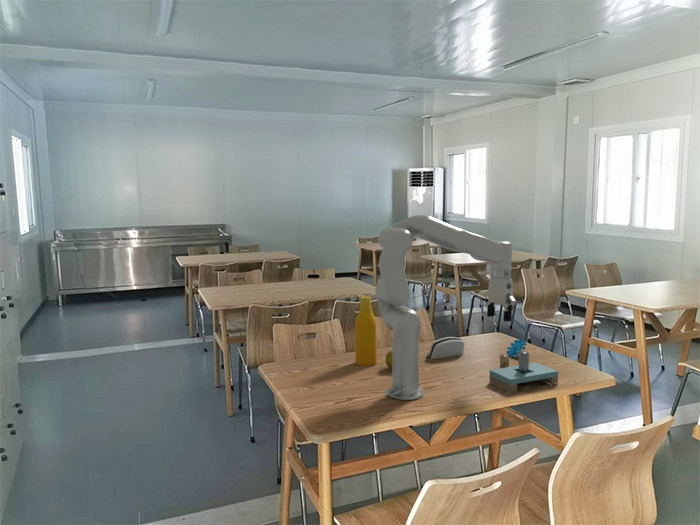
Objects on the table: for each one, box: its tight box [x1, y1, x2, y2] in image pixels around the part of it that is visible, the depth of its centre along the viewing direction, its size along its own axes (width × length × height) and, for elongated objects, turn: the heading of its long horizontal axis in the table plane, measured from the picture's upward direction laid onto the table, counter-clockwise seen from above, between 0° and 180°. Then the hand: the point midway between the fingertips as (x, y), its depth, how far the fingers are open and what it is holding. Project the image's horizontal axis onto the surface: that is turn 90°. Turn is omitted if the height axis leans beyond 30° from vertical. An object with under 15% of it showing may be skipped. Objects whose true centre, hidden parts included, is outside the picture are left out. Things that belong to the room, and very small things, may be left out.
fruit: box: [385, 349, 392, 370], centre depth 225 cm, size 10×9×8 cm
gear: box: [505, 338, 527, 359], centre depth 241 cm, size 11×6×10 cm
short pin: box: [499, 353, 510, 369], centre depth 222 cm, size 4×4×6 cm
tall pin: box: [517, 350, 530, 386], centre depth 205 cm, size 4×4×12 cm
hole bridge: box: [489, 362, 559, 394], centre depth 205 cm, size 22×12×5 cm, turn 113°
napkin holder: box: [426, 336, 465, 360], centre depth 242 cm, size 17×5×10 cm, turn 114°
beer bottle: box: [354, 295, 378, 367], centre depth 233 cm, size 9×9×29 cm
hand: (499, 318), depth 207 cm, fingers open, 9 cm apart
